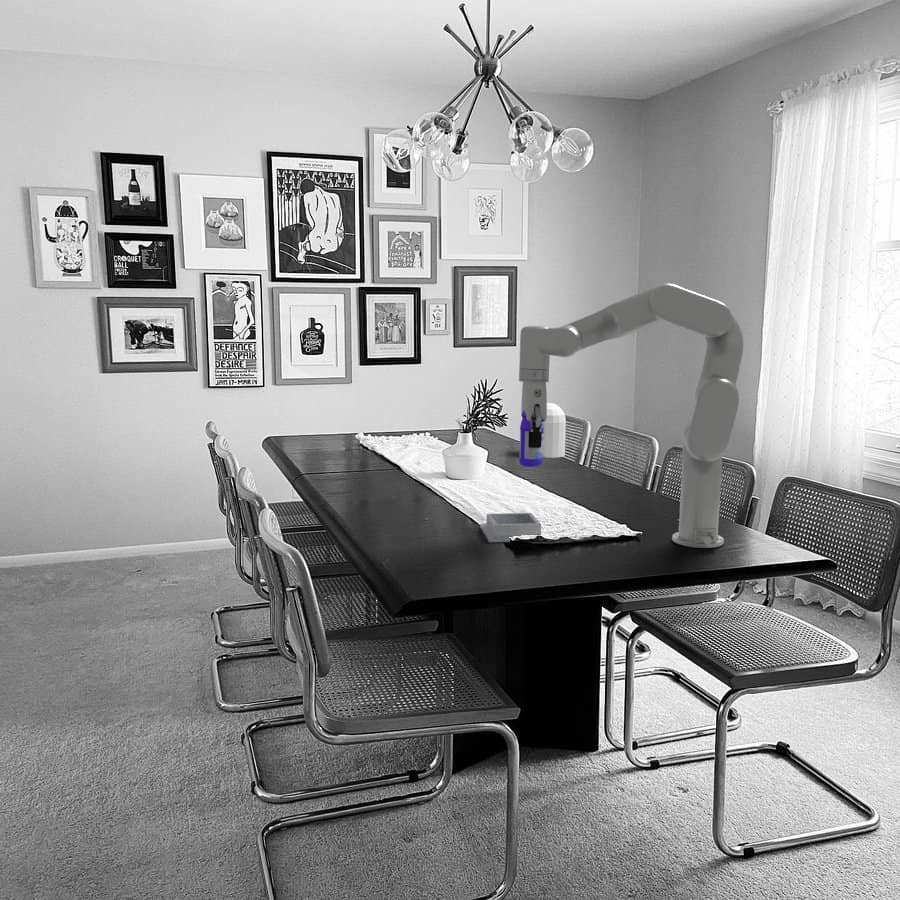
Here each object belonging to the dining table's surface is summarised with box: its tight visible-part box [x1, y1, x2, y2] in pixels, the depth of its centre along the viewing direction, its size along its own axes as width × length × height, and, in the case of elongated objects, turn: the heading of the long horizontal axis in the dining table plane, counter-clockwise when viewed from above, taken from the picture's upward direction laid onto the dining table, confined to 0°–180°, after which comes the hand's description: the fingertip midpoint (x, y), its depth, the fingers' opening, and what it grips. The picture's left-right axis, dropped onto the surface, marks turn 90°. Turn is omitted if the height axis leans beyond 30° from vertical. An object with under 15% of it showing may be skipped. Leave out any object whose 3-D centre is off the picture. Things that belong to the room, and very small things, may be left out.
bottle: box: [518, 410, 544, 468], centre depth 236 cm, size 7×6×17 cm
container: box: [543, 402, 567, 459], centre depth 352 cm, size 14×13×20 cm
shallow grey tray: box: [479, 512, 542, 543], centre depth 239 cm, size 15×15×4 cm
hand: (531, 444), depth 236 cm, fingers closed on bottle, 7 cm apart
